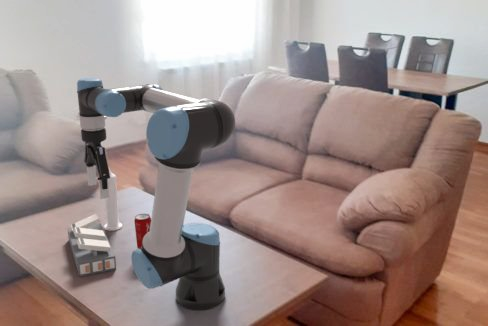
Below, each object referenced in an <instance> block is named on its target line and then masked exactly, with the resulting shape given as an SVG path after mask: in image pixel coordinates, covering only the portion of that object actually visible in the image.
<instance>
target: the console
mask: <svg viewBox="0 0 488 326" xmlns="http://www.w3.org/2000/svg"><path fill="white" fill-rule="evenodd" d="M87 229H96V230H103V232H104V234H105V240H103V241H108V243H109V245H110V251H109V252H107V251H97V250H87V249H79V247H78V244H77V240H78V237H75V234H74V233H73V231H72V228H71V227H67V236H68V242H69V243H68V244H69V245H70V250H71V252H72V253H71V254H72V256H73V260H74V263H75V268H76V270H77V273H78V277H84V276H91V275H95V274H101V273H104V272H109V271H114V270H117V263H116V262H117V260H116V259H117V258H116V255H115V252H114V250H113V247H112V246H111V244H110V241H109V238H108V236H107V234H106V232H105V229H104V226H102V223H101V222H100V223H97V224H95V225H93V226H91V227H89V228H87ZM84 239H88V238H84ZM94 240H97V239H94Z"/></svg>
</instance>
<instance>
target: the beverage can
mask: <svg viewBox="0 0 488 326" xmlns="http://www.w3.org/2000/svg"><path fill="white" fill-rule="evenodd" d="M151 218H152V217H151V216H150V214H149V213H139V214H137V215H135V217H134V230H135V238H136V246H137V247H136V249H140V248H141V247H142V242H143V238H144V236H145V235H146V234H147V233H148V232H150V225H151Z"/></svg>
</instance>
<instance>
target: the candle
mask: <svg viewBox="0 0 488 326" xmlns="http://www.w3.org/2000/svg"><path fill="white" fill-rule="evenodd" d="M108 169H109V174H110V178H109V179H108V187H109V198H104V199H105V211H106V212H105V213H106V214H105V215H106V223H105V224H104V226H103V230H104V231H108V232H109V231H110V232H113V231H114V232H115V231H118V230H120V229H122V228H123V223H121V222H120V221H119V219H120V218H119V217H120V216H119V205H118V188H117V175H116V174H114V173H113V172H112V171H111V168H110V167H108Z"/></svg>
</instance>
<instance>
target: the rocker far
mask: <svg viewBox="0 0 488 326" xmlns="http://www.w3.org/2000/svg"><path fill="white" fill-rule="evenodd" d="M97 223H101V220H100V218H99V215H98V213H94V214H92V215H90V216H89V215H88V216H87V217H85V218H83V219H80V220H79V221H77V222H74V223H72V224H70V228H72V231H73V233H74V227H79V228H89V227H91V226H93V225H95V224H97Z"/></svg>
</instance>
